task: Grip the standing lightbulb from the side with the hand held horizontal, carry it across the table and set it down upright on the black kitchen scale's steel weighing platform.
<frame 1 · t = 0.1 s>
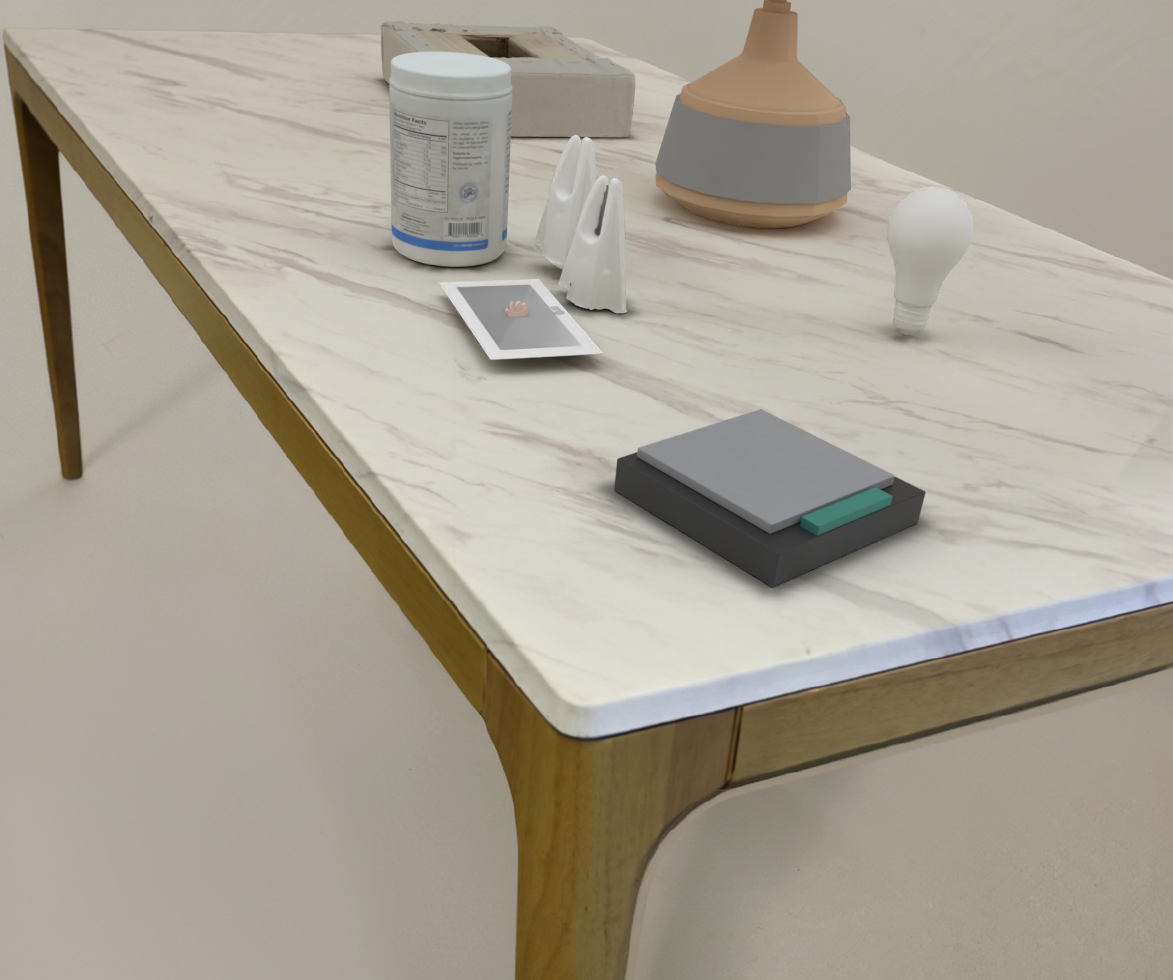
supplement tub: (448, 254, 102), on the table
touchpad: (515, 333, 88), on the table
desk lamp: (746, 211, 120), on the table
lightbulb: (905, 336, 93), on the table
box: (498, 108, 151), on the table
scale: (765, 506, 68), on the table
shaker set: (578, 290, 96), on the table
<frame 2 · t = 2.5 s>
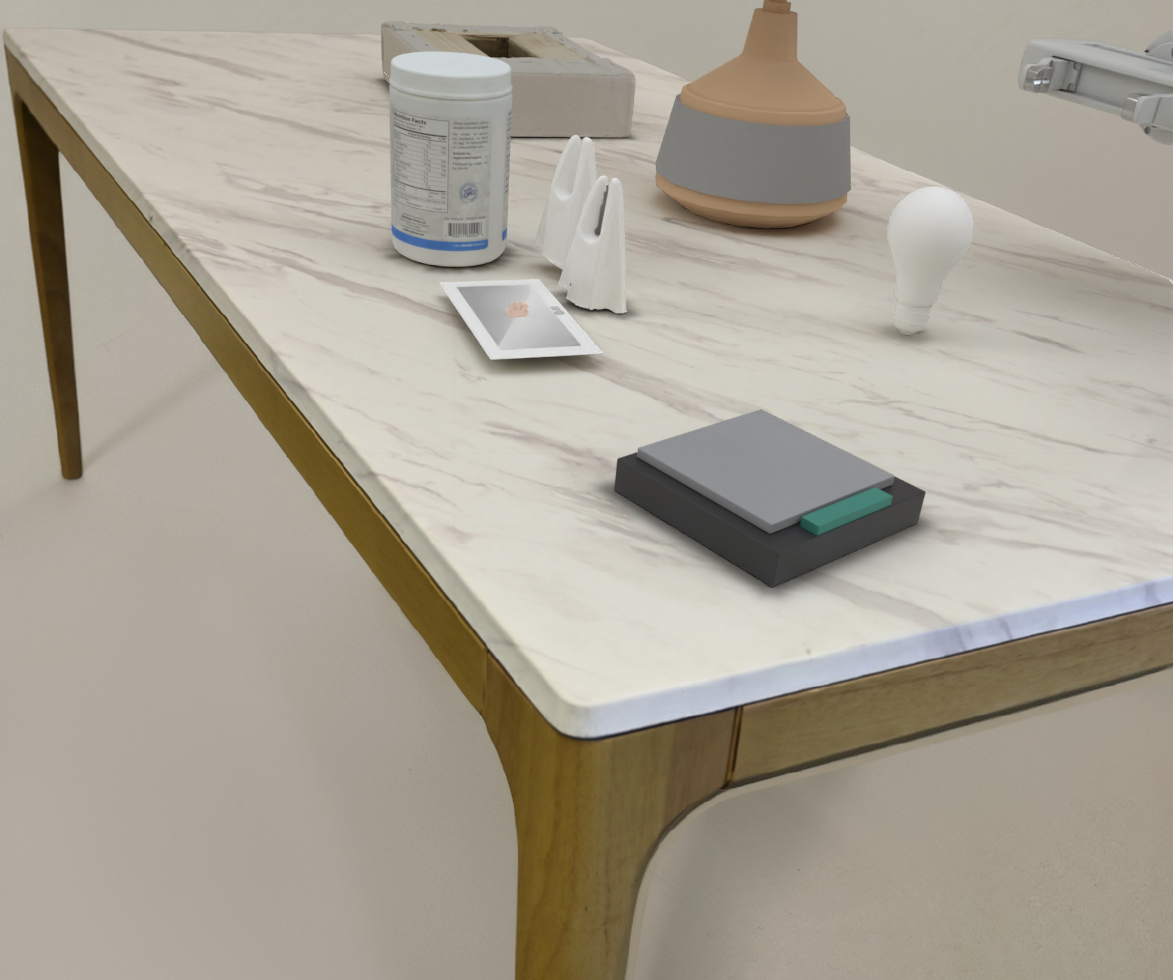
hand: (1077, 93, 89), 17 cm above the table, tool horizontal, fingers open, 8 cm apart
nothing on the table moved.
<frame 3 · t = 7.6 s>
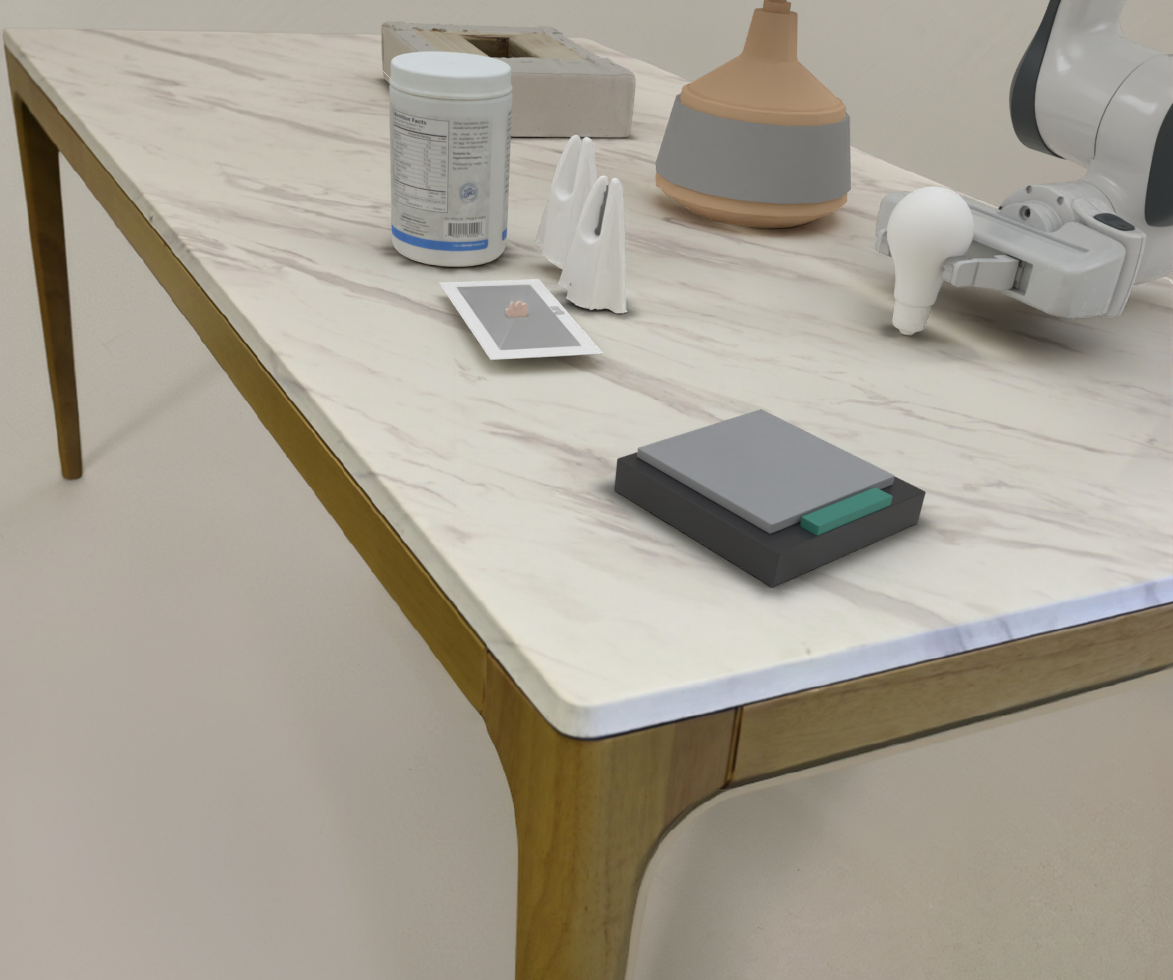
hand: (915, 257, 90), 6 cm above the table, tool horizontal, fingers closed on lightbulb, 6 cm apart
lightbulb: (905, 336, 93), on the table, touching gripper
everything else where it was.
when the fingers open (9 cm above the table, at t = 17.8 s): lightbulb stays where it is, resting on scale.
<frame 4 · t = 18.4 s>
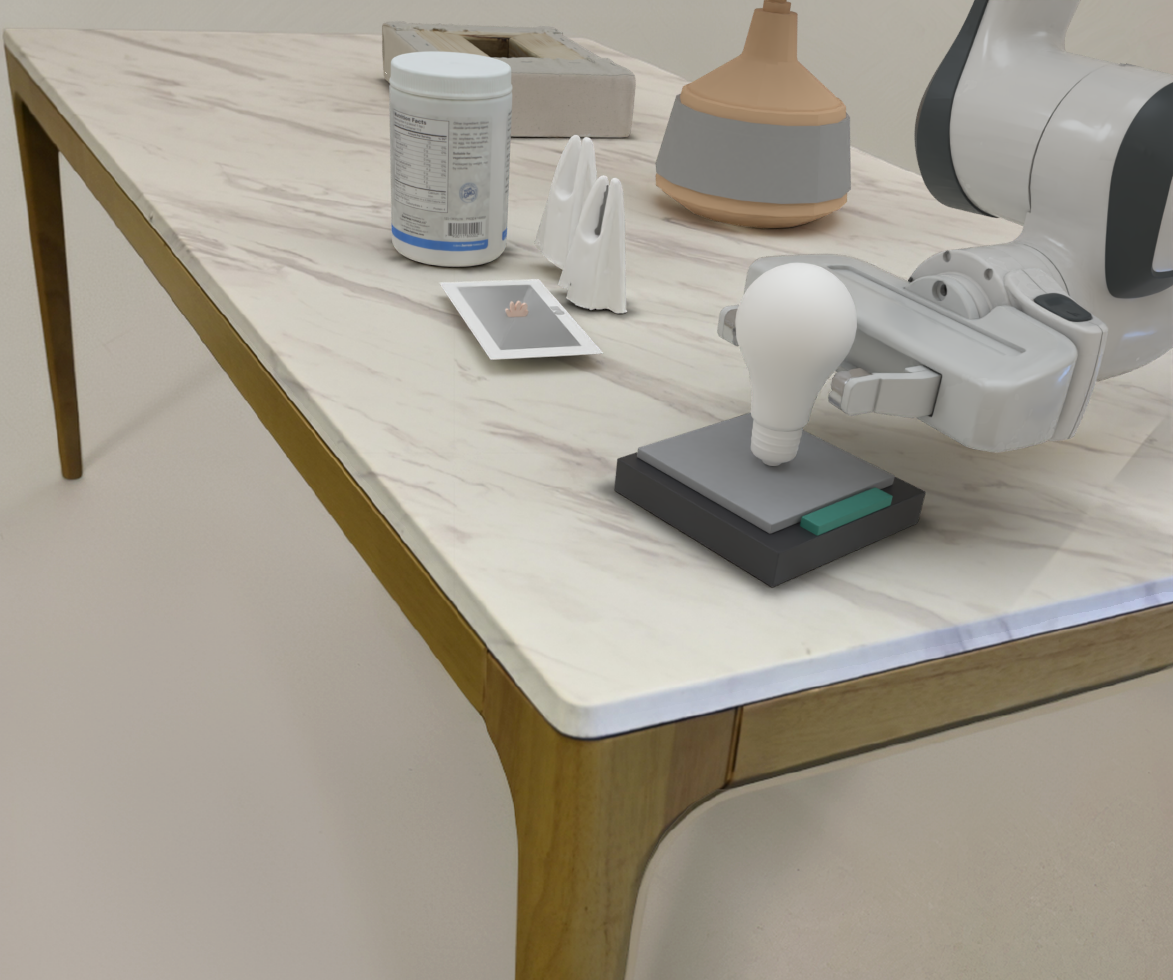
hand: (779, 359, 63), 9 cm above the table, tool horizontal, fingers open, 8 cm apart
lightbulb: (770, 467, 67), point 2 cm above the table, touching scale
everything else where it was.
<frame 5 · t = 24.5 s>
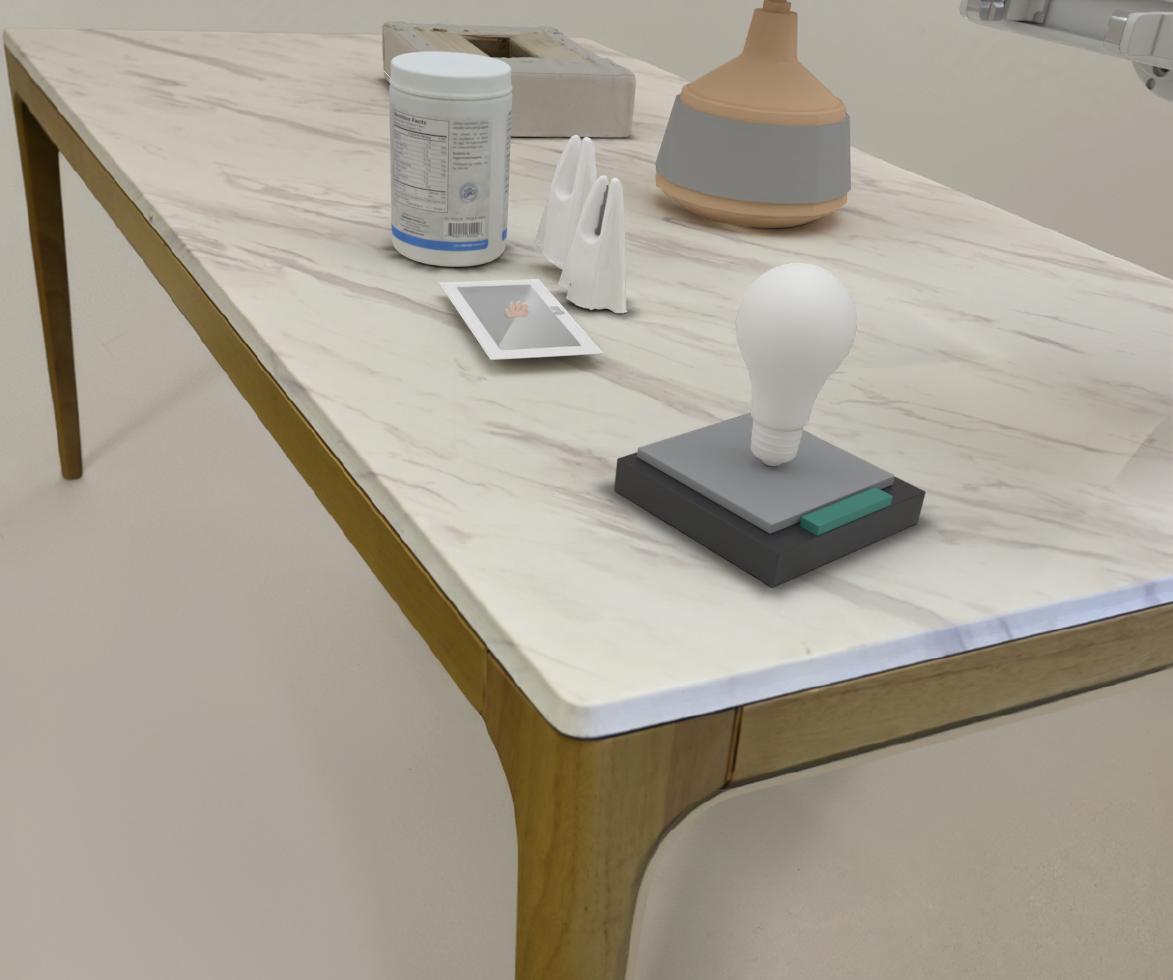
hand: (1040, 15, 60), 25 cm above the table, tool horizontal, fingers open, 8 cm apart
nothing on the table moved.
at the end: lightbulb inside the target area on the scale (0.4 cm from its centre), point 2.4 cm above the scale's base; lightbulb tilted 0°; the gripper is holding nothing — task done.
